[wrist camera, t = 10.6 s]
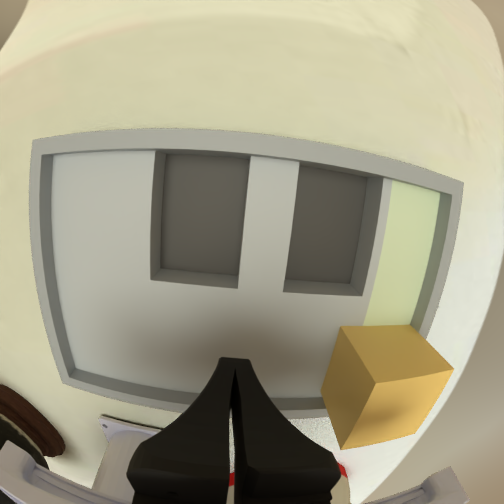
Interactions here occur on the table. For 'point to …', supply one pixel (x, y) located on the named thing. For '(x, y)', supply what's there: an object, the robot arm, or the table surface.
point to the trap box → (227, 257)
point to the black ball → (26, 431)
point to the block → (381, 383)
